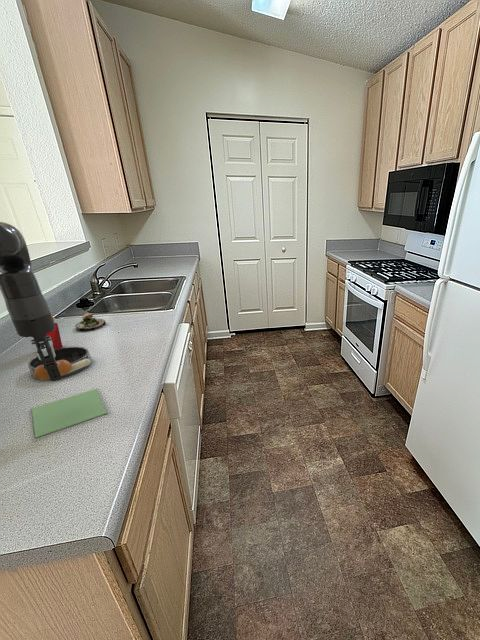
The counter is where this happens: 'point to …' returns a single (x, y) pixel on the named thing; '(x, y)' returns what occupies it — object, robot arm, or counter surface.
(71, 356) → the pan
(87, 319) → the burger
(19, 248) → the robot arm
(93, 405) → the napkin
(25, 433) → the counter surface
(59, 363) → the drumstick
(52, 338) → the french fries
